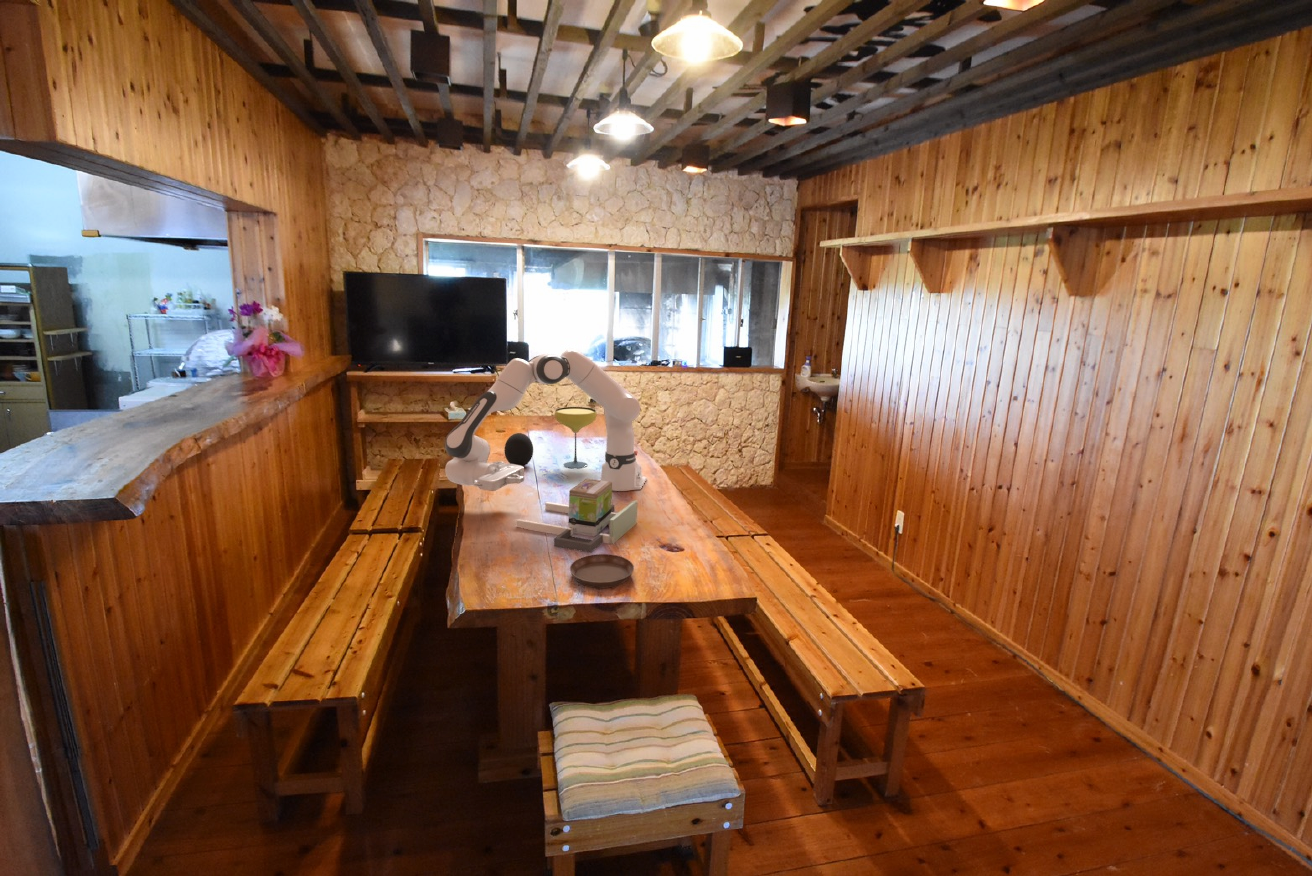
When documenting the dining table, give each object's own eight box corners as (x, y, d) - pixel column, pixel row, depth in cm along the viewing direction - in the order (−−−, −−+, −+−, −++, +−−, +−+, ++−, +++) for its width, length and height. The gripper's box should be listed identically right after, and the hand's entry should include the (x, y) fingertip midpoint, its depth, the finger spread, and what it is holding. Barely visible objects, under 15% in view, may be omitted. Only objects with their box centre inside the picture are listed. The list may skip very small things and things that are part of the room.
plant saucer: (609, 597, 165) (609, 587, 164) (556, 580, 174) (556, 570, 173) (645, 573, 180) (646, 563, 179) (595, 558, 188) (595, 549, 188)
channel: (547, 508, 229) (546, 487, 227) (636, 523, 217) (637, 500, 216) (516, 527, 210) (515, 504, 208) (612, 544, 199) (613, 520, 197)
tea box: (596, 537, 204) (597, 493, 201) (567, 533, 206) (567, 489, 203) (612, 521, 218) (612, 480, 215) (584, 518, 221) (585, 477, 217)
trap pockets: (583, 506, 232) (583, 500, 231) (635, 514, 225) (635, 508, 225) (531, 541, 198) (531, 534, 198) (590, 552, 192) (590, 544, 191)
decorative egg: (499, 468, 276) (498, 434, 273) (513, 461, 288) (513, 429, 284) (525, 471, 273) (524, 437, 269) (538, 464, 284) (538, 431, 281)
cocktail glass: (602, 463, 290) (603, 409, 284) (582, 473, 274) (582, 416, 268) (569, 458, 297) (569, 405, 291) (547, 467, 281) (546, 411, 275)
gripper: (469, 475, 214) (504, 479, 209) (503, 459, 232) (536, 463, 228) (470, 492, 215) (505, 497, 211) (503, 476, 234) (536, 480, 229)
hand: (521, 480), depth 219 cm, fingers closed
